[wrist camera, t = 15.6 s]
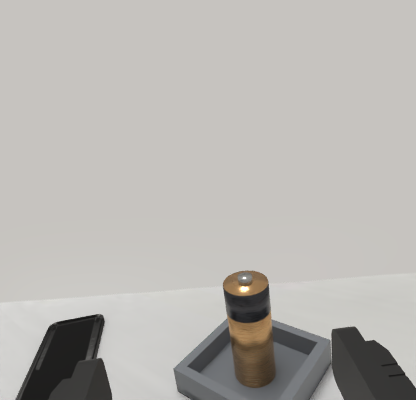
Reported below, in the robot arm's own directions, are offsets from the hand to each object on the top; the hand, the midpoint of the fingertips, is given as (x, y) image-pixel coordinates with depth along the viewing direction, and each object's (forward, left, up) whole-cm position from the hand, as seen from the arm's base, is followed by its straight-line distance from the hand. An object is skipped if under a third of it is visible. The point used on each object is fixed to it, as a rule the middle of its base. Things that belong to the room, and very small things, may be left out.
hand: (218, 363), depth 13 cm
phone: (-34, +8, -22) cm, 41 cm away
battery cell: (-12, +18, -21) cm, 30 cm away
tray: (-12, +18, -22) cm, 30 cm away
